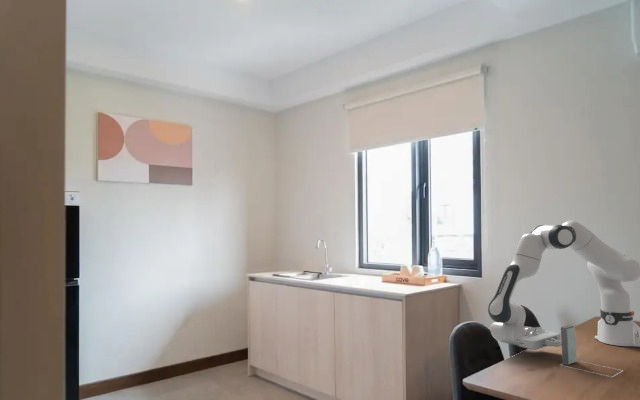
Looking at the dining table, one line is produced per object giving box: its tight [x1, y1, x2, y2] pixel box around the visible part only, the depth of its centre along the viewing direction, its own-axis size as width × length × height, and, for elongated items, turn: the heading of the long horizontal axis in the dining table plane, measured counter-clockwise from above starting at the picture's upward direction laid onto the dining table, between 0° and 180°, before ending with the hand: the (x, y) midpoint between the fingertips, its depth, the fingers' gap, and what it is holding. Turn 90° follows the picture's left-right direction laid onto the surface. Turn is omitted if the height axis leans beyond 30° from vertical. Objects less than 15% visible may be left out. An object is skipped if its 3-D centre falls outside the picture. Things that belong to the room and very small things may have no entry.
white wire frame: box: [559, 360, 624, 378], centre depth 165 cm, size 11×1×18 cm
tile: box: [560, 324, 578, 366], centre depth 172 cm, size 6×2×14 cm, turn 123°
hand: (559, 344), depth 175 cm, fingers closed
